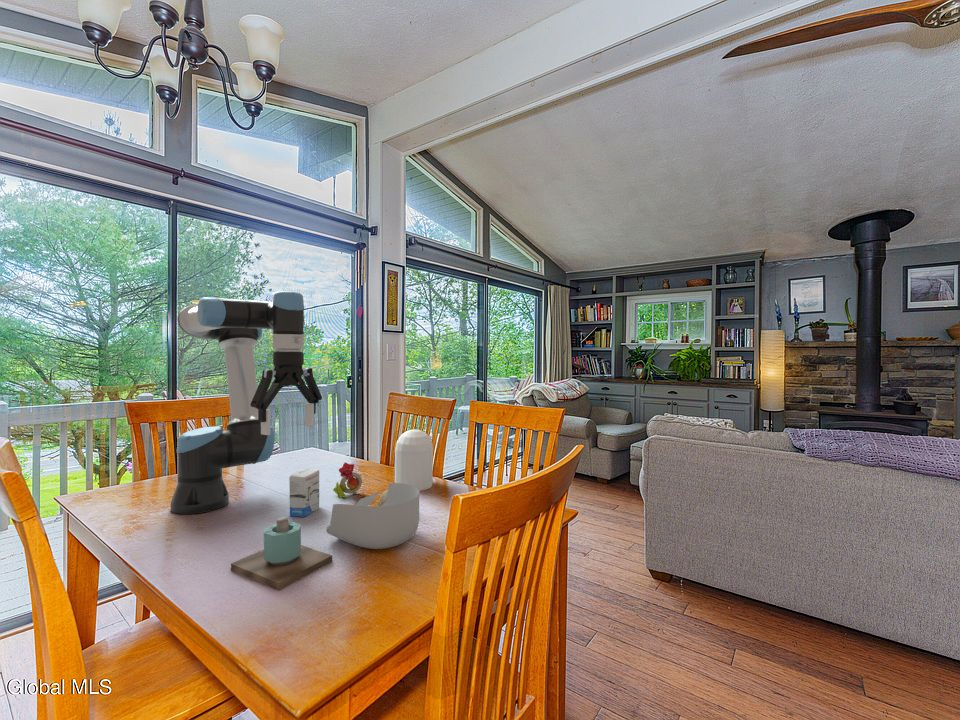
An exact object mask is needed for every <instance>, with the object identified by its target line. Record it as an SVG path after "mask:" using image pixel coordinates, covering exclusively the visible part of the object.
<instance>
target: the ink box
mask: <svg viewBox="0 0 960 720" xmlns="http://www.w3.org/2000/svg"><path fill="white" fill-rule="evenodd" d="M288 482H289V483H288V485H289V516H290V517H301V518H302V517H303V518H305V517H306V516H308V515H310V514H312V513H313V512H314V511H316V510H318V509H319V508H320V469H314V468H312V469H311V468H304V469H301V470H299V471H297V472H294V473H292V474H290V476H289V481H288Z"/></svg>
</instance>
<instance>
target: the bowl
mask: <svg viewBox="0 0 960 720" xmlns="http://www.w3.org/2000/svg"><path fill="white" fill-rule="evenodd" d="M387 489H388V493H387V499H386V502H385V503H384V504H383V505H382V506H381V507H378V506H370V505H371V504H372V503H373V501H374V500H375V498H376V497H377V496H378V495H379V494H380V493H383V490H381V491H379V492H376V493H372V494H370V495H368V496H366V497H363V498H361V499H359V500H358V501H357V502H356V503H355V504H347V503H346V504H343V503H334V504H332V510H331V517H330V522H329V523H330V524H329V525H328V526H327V528H326V530H325V531H326V533H327V534H328V535H330V536H333V537H335V538H337V539H339V540H342V541H344V542H346V543H348V544H350V545H354V546H357V547H360V548H365V549H371V550H384V549H391V548H395V547H396V546H397V547H398V546H399V545H402V544H404V543H406V542H407V541H409V540H410V539H411V538H413V536H414V535H415V534H416V532H417V531H418V527H419V523H420V491H419V490H418V489H417V488H415V487H413V486H411V485H407V484H402V483H395V482H391V483H388V488H387Z"/></svg>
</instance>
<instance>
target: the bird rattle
mask: <svg viewBox="0 0 960 720" xmlns="http://www.w3.org/2000/svg"><path fill="white" fill-rule="evenodd" d="M354 470H355V464H354V463H348V462H344V463H343V465H342V467H340V468H339V469H338V472H339V473H340V477H341V479H340V481H339V482H338V481H337V482H336V484H335V487H334V488H332V489H333V490H332V491H333V492H334V493H336V495H337V496H338V498H340V499H342V498H343V497H344V498H345V499H347V494H349V495H351V494H353V495H356V494H357V492H358V491H359V490H360V489H361V487H362V484H363V480H362V476H361V474H359V473H358V472H355V471H354Z"/></svg>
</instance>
